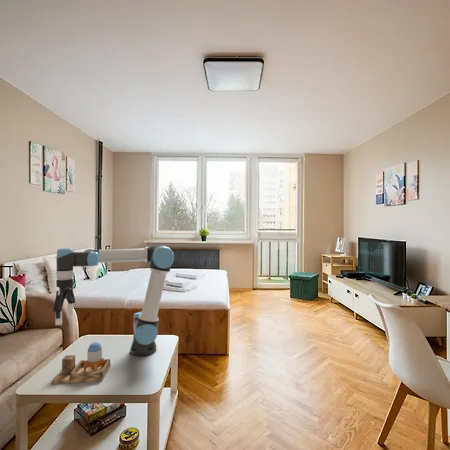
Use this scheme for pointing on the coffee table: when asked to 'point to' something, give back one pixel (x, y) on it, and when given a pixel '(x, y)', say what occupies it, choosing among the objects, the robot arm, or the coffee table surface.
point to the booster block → (68, 364)
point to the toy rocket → (94, 357)
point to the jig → (83, 373)
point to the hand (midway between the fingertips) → (64, 320)
